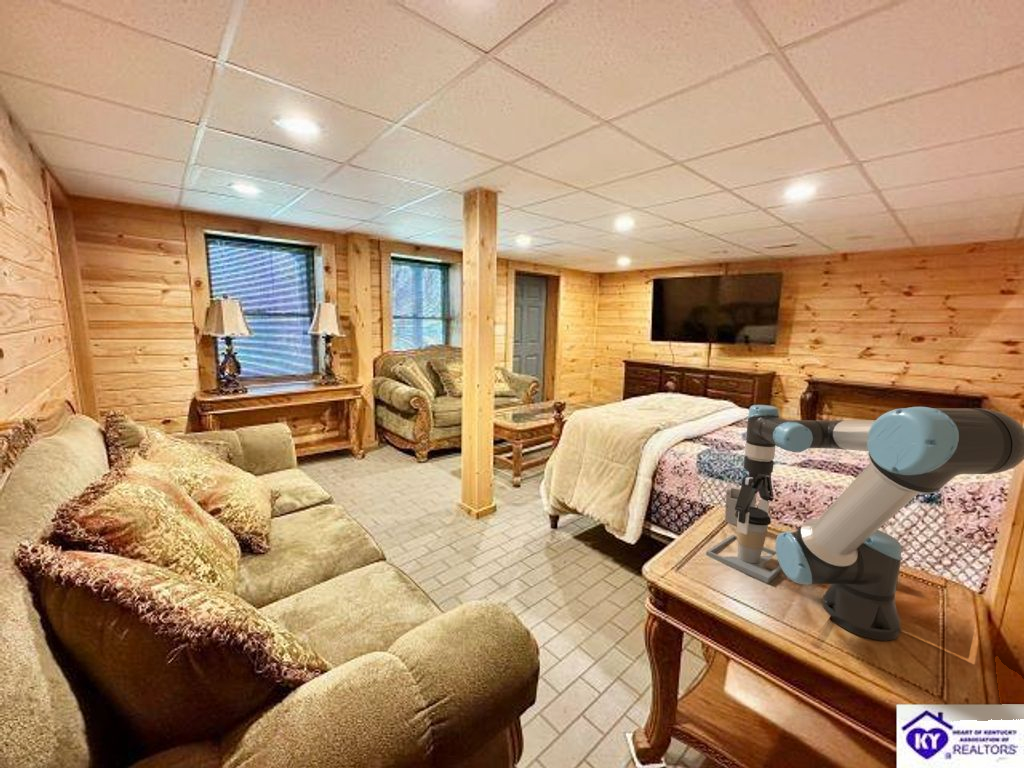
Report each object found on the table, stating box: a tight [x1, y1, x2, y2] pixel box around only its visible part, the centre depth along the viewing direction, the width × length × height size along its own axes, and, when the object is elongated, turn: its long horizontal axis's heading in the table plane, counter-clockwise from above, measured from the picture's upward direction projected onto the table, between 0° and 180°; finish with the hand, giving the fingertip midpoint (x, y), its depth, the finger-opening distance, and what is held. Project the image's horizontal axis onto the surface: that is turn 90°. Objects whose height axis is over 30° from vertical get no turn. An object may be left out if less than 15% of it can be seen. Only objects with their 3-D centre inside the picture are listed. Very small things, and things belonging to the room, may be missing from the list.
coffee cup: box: [735, 507, 772, 564], centre depth 130 cm, size 9×9×15 cm
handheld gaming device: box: [724, 485, 757, 527], centre depth 150 cm, size 9×15×4 cm
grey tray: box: [705, 534, 783, 585], centre depth 131 cm, size 18×18×2 cm
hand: (752, 526), depth 130 cm, fingers open, 13 cm apart
